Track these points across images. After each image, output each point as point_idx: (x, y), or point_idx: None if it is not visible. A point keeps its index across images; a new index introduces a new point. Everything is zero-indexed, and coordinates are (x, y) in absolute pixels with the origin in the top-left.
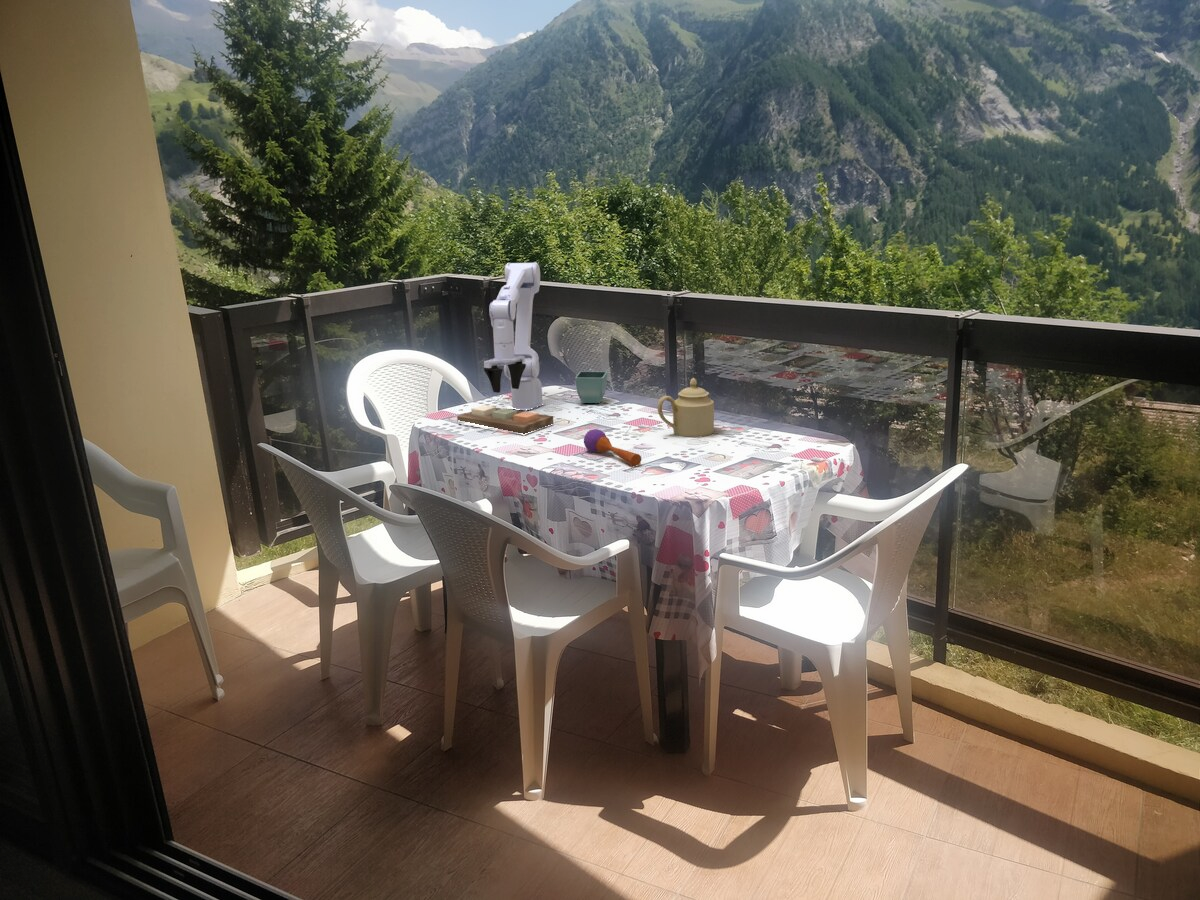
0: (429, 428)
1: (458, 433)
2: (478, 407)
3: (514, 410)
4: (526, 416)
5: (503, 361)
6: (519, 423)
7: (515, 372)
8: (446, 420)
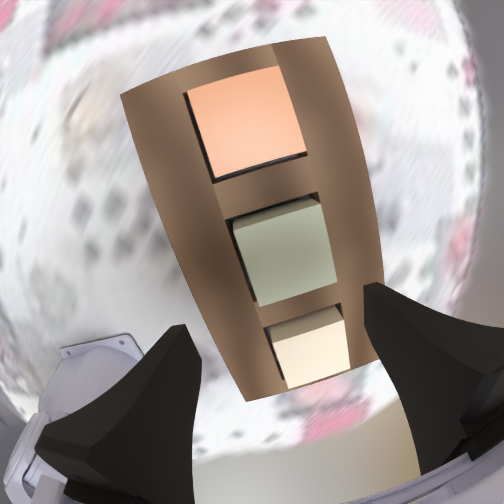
0: None
1: (434, 252)
2: (322, 371)
3: (245, 233)
4: (269, 81)
5: (478, 500)
6: (309, 89)
7: (161, 434)
8: (360, 387)
